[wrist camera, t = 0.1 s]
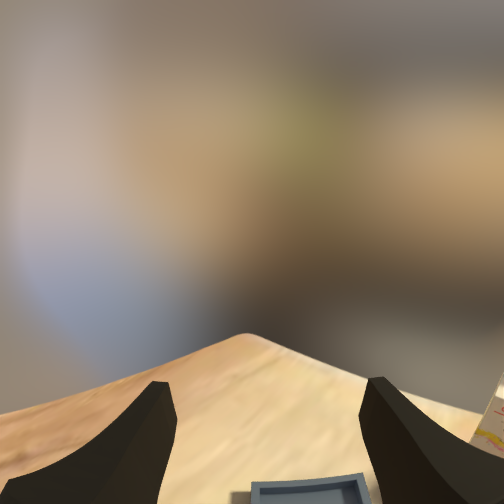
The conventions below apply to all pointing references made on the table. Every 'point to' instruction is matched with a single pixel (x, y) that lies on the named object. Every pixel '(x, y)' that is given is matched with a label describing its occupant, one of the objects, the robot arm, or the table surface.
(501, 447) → the ink cartridge box
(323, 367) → the table surface
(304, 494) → the tray
